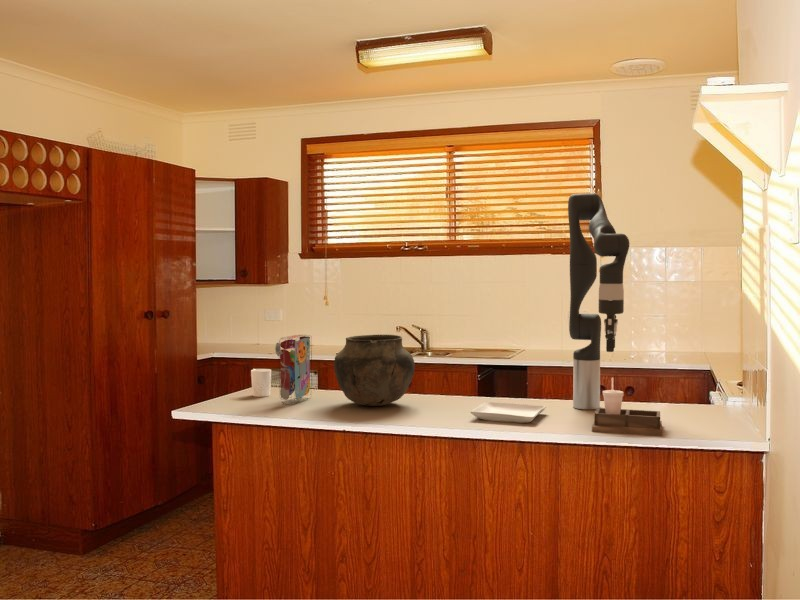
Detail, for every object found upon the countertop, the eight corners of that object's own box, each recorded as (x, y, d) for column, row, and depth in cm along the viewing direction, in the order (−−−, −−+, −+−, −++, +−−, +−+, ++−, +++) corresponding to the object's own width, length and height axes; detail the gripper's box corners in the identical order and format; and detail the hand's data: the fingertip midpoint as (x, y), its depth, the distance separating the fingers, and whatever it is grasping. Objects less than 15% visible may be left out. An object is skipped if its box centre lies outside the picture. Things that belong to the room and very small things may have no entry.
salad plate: (546, 414, 256) (546, 404, 256) (533, 426, 236) (533, 415, 236) (486, 410, 264) (486, 400, 264) (468, 421, 244) (468, 411, 244)
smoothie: (619, 420, 236) (619, 376, 236) (626, 424, 230) (627, 379, 229) (599, 420, 236) (599, 376, 235) (606, 425, 229) (606, 379, 229)
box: (283, 409, 264) (283, 340, 263) (267, 408, 266) (267, 340, 265) (312, 398, 288) (312, 334, 287) (297, 397, 290) (297, 334, 289)
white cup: (250, 394, 297) (249, 369, 297) (270, 393, 299) (269, 368, 299) (252, 397, 290) (252, 371, 289) (272, 396, 292) (272, 370, 291)
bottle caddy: (595, 421, 242) (595, 406, 241) (661, 425, 235) (661, 409, 235) (591, 431, 227) (592, 415, 227) (661, 435, 221) (662, 419, 221)
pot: (331, 414, 256) (331, 341, 255) (336, 398, 287) (335, 333, 286) (417, 413, 257) (417, 340, 256) (412, 397, 288) (412, 332, 287)
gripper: (600, 296, 241) (599, 346, 242) (597, 299, 228) (596, 352, 229) (624, 296, 239) (624, 347, 240) (622, 299, 225) (622, 353, 226)
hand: (610, 350), depth 234 cm, fingers open, 8 cm apart
